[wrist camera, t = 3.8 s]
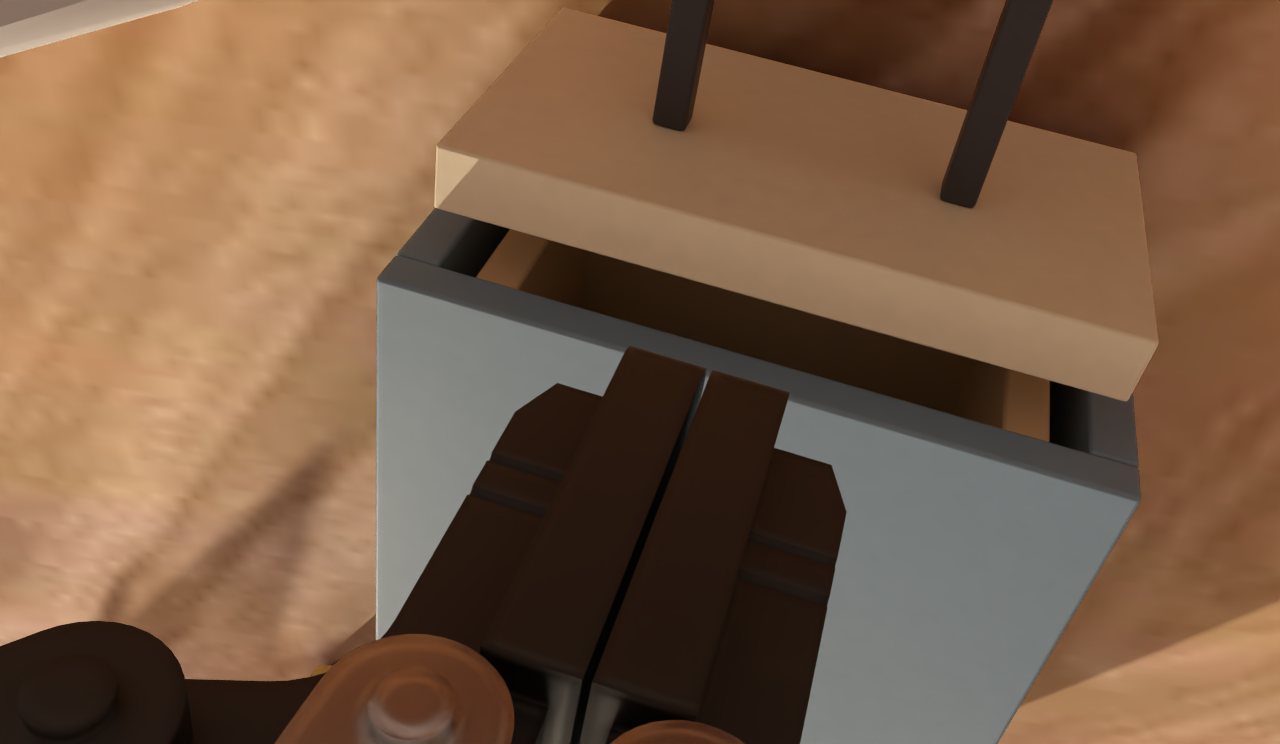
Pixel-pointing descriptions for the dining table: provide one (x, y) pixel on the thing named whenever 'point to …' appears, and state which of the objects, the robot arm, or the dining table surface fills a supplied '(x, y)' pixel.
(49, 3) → the salt shaker
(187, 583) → the dining table surface
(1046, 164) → the drawer
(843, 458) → the cabinet
